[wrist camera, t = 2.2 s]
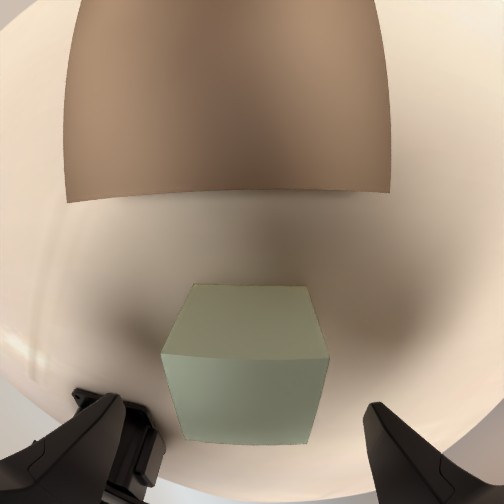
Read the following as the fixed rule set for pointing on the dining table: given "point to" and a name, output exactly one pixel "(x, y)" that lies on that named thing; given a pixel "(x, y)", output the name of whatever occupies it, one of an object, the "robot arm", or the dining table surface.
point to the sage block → (246, 364)
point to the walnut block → (225, 97)
